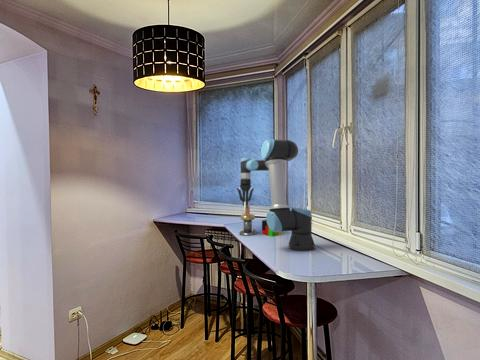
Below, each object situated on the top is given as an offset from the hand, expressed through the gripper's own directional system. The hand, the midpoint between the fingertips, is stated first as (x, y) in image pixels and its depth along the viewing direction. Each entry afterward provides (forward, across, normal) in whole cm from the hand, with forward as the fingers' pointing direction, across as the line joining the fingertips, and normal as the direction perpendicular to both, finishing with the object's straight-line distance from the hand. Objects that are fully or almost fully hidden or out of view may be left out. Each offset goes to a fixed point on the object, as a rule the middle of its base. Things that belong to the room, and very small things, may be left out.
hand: (245, 210), depth 232 cm
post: (+16, -4, +6) cm, 18 cm away
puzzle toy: (+17, -21, +1) cm, 26 cm away
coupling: (+5, -4, +6) cm, 9 cm away
